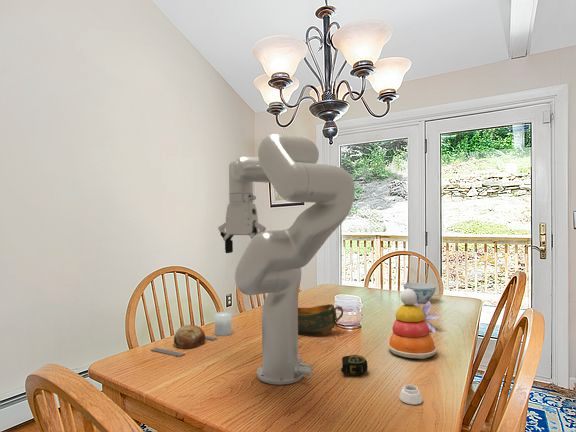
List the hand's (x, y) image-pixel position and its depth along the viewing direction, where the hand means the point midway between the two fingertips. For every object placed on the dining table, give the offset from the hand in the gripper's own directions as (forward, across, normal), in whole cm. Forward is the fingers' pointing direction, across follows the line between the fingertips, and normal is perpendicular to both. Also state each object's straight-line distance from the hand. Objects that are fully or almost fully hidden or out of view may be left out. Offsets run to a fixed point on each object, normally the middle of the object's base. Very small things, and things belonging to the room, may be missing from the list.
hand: (241, 253), depth 116 cm
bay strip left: (+30, +19, +13) cm, 38 cm away
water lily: (+31, -48, -45) cm, 73 cm away
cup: (+30, +15, -10) cm, 35 cm away
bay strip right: (+30, +19, -3) cm, 36 cm away
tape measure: (+31, -37, +3) cm, 48 cm away
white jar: (+31, -53, +11) cm, 62 cm away
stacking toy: (+31, -49, -19) cm, 61 cm away
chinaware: (+31, -43, -91) cm, 105 cm away
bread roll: (+31, +19, +3) cm, 36 cm away
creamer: (+31, -14, -24) cm, 41 cm away
